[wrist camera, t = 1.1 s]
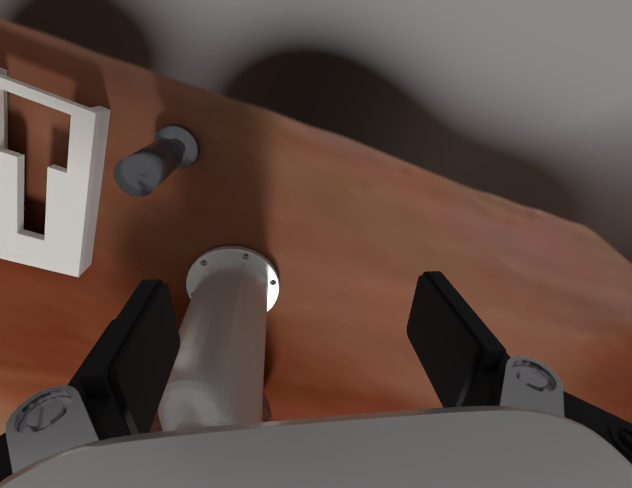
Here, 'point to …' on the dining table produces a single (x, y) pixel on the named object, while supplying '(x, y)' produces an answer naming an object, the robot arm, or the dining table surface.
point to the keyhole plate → (54, 187)
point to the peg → (157, 160)
